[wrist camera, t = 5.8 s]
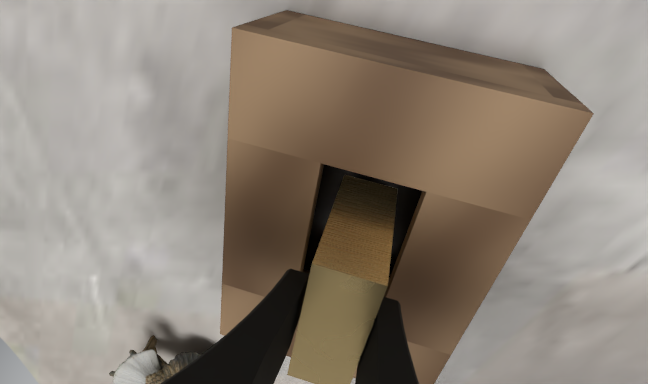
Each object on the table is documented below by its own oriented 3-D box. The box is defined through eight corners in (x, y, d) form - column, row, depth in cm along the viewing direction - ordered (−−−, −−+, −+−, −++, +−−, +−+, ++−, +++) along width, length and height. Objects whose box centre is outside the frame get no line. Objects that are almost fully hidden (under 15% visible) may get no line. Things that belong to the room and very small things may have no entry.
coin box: (544, 68, 14) (593, 113, 10) (424, 316, 22) (424, 400, 17) (286, 10, 15) (232, 27, 11) (258, 265, 23) (220, 334, 18)
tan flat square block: (397, 188, 14) (387, 285, 10) (365, 284, 16) (346, 393, 12) (344, 174, 14) (311, 264, 10) (321, 271, 17) (287, 374, 12)
